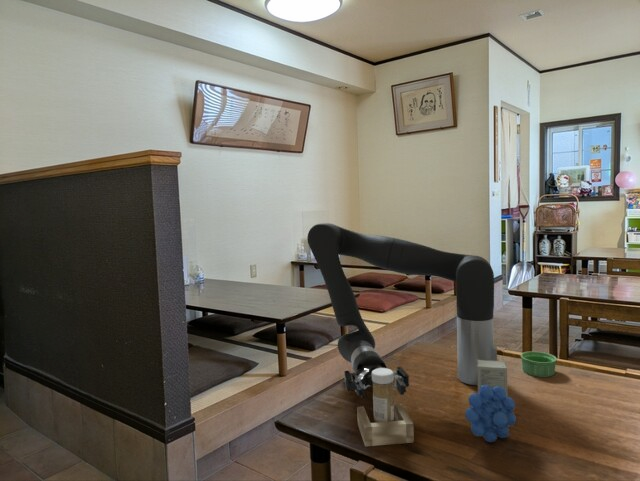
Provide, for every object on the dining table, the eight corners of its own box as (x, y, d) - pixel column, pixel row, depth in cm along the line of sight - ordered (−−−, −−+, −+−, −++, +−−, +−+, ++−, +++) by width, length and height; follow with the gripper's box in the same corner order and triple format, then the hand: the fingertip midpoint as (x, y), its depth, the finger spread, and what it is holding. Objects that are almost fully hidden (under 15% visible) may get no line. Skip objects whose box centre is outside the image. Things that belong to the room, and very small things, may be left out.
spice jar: (399, 433, 94) (398, 371, 93) (383, 440, 91) (381, 377, 90) (385, 425, 98) (383, 365, 96) (369, 431, 95) (367, 370, 94)
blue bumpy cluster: (480, 459, 84) (480, 397, 83) (459, 441, 90) (458, 383, 89) (530, 446, 87) (531, 387, 86) (506, 430, 93) (506, 375, 92)
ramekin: (521, 376, 121) (521, 360, 121) (520, 364, 130) (520, 349, 129) (558, 380, 118) (558, 363, 117) (554, 367, 126) (554, 352, 126)
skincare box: (507, 412, 101) (506, 360, 100) (508, 422, 97) (508, 368, 96) (477, 409, 103) (477, 358, 102) (477, 418, 99) (477, 365, 98)
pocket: (401, 420, 99) (401, 403, 99) (413, 442, 90) (413, 423, 90) (357, 424, 98) (357, 407, 98) (365, 446, 89) (364, 427, 89)
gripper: (338, 352, 110) (349, 377, 94) (395, 348, 111) (415, 372, 95) (340, 381, 111) (350, 412, 94) (396, 377, 112) (416, 406, 96)
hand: (383, 392), depth 95 cm, fingers open, 8 cm apart
